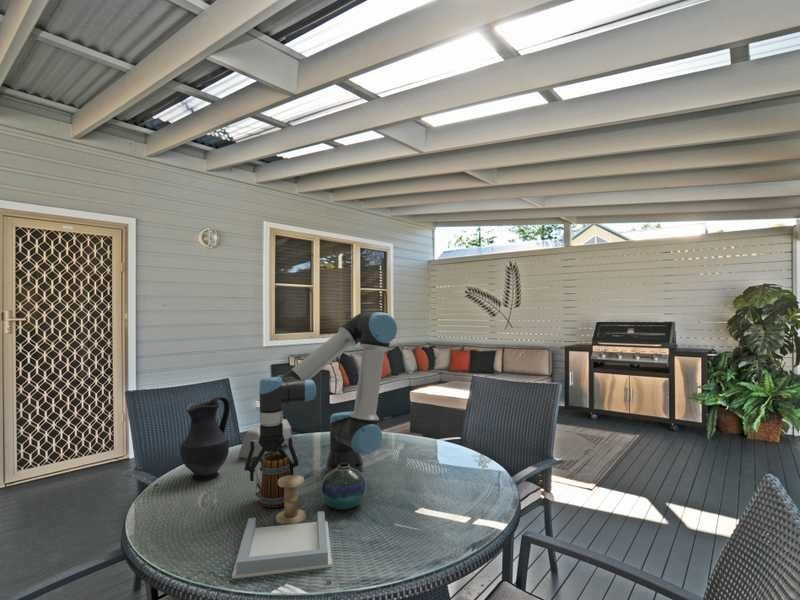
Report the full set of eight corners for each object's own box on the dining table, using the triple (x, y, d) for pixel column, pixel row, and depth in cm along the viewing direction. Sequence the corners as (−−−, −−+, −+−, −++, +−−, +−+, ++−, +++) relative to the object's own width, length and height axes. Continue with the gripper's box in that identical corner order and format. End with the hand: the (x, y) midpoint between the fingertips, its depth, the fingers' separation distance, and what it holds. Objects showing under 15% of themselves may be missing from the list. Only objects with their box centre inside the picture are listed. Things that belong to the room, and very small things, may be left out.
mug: (298, 497, 157) (297, 453, 157) (280, 510, 147) (279, 464, 147) (261, 491, 162) (260, 449, 162) (240, 503, 152) (240, 459, 153)
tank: (268, 462, 195) (268, 433, 196) (237, 458, 200) (237, 429, 201) (299, 445, 219) (299, 419, 219) (271, 442, 224) (271, 417, 224)
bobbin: (305, 510, 148) (305, 473, 148) (305, 523, 139) (305, 483, 139) (277, 513, 146) (277, 475, 146) (275, 526, 137) (275, 486, 137)
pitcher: (170, 481, 173) (171, 402, 174) (211, 464, 193) (212, 393, 193) (205, 488, 167) (205, 405, 167) (244, 469, 186) (244, 395, 187)
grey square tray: (327, 523, 139) (327, 511, 139) (331, 567, 115) (331, 551, 115) (245, 531, 134) (245, 518, 134) (232, 578, 110) (232, 563, 110)
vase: (329, 519, 141) (329, 476, 142) (314, 501, 155) (314, 462, 155) (374, 509, 148) (374, 468, 149) (356, 492, 162) (356, 455, 162)
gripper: (305, 418, 161) (306, 481, 161) (237, 422, 157) (238, 487, 156) (305, 423, 154) (306, 489, 154) (234, 428, 149) (235, 496, 149)
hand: (272, 488), depth 155 cm, fingers closed on mug, 10 cm apart
